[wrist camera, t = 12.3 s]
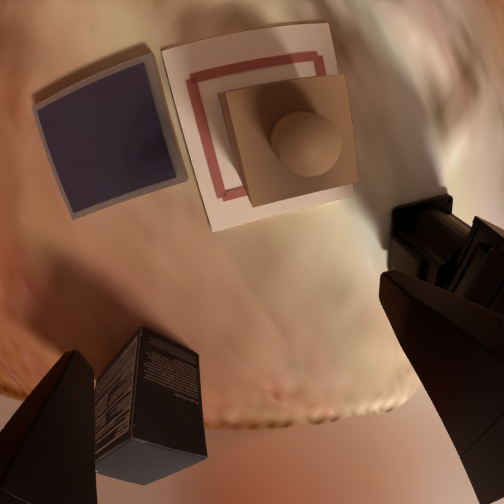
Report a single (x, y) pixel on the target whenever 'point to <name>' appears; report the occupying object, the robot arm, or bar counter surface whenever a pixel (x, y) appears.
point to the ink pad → (111, 137)
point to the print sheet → (211, 117)
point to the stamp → (291, 137)
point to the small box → (149, 411)
